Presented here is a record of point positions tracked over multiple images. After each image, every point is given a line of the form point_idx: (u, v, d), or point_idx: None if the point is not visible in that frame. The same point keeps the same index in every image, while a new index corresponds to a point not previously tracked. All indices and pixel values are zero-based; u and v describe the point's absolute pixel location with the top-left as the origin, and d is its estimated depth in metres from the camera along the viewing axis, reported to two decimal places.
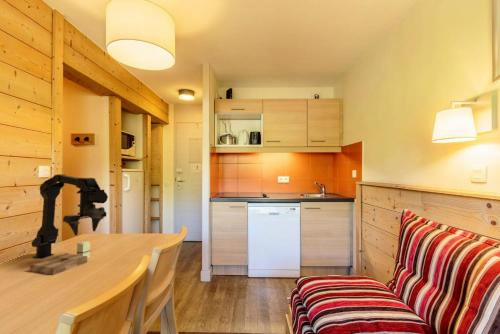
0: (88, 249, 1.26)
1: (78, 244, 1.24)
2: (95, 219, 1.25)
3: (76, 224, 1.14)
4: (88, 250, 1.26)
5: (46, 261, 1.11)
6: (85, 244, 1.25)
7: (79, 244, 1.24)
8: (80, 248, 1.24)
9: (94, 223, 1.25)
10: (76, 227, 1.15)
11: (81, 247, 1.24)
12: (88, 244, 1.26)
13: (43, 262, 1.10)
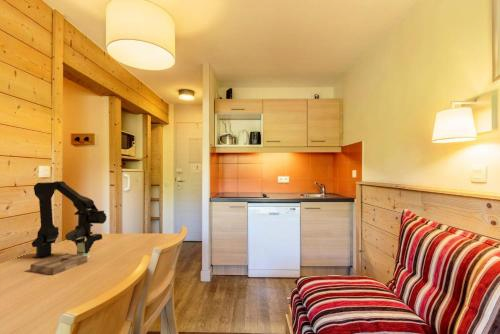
0: None
1: (78, 244, 1.24)
2: None
3: None
4: None
5: (46, 261, 1.11)
6: None
7: (79, 244, 1.24)
8: (80, 248, 1.24)
9: None
10: (76, 245, 1.26)
11: (81, 247, 1.24)
12: None
13: (43, 262, 1.10)
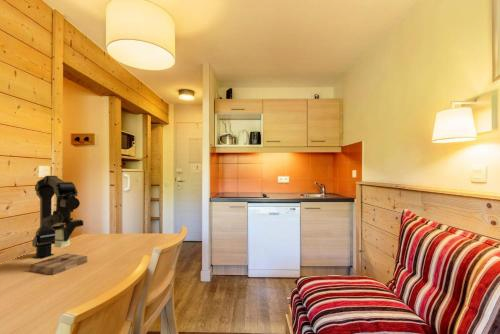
0: None
1: (56, 231, 1.13)
2: None
3: (52, 229, 1.13)
4: None
5: (46, 261, 1.11)
6: None
7: (57, 231, 1.13)
8: (59, 235, 1.12)
9: None
10: (54, 232, 1.14)
11: (60, 234, 1.12)
12: None
13: (43, 262, 1.10)
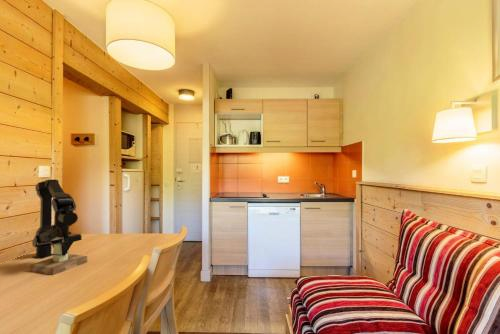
0: None
1: (54, 245, 1.12)
2: None
3: (51, 243, 1.13)
4: None
5: (46, 261, 1.11)
6: None
7: (55, 245, 1.12)
8: (57, 250, 1.12)
9: None
10: (53, 246, 1.13)
11: (58, 249, 1.12)
12: None
13: (43, 262, 1.10)
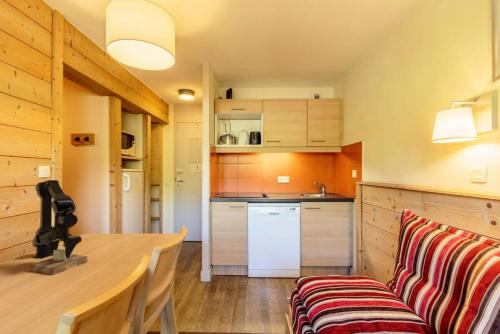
0: None
1: (54, 251, 1.12)
2: None
3: (47, 244, 1.13)
4: (66, 258, 1.14)
5: (46, 261, 1.11)
6: (62, 251, 1.13)
7: (55, 251, 1.12)
8: (57, 256, 1.12)
9: None
10: (49, 247, 1.14)
11: (58, 255, 1.11)
12: None
13: (43, 262, 1.10)
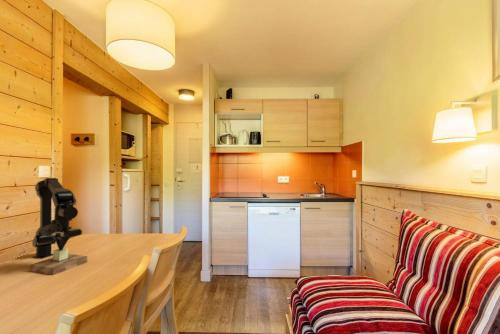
0: (66, 257, 1.14)
1: (54, 251, 1.12)
2: None
3: (54, 238, 1.12)
4: (66, 258, 1.14)
5: (46, 261, 1.11)
6: (62, 251, 1.13)
7: (55, 252, 1.12)
8: (57, 256, 1.12)
9: None
10: (56, 241, 1.13)
11: (58, 255, 1.11)
12: (66, 251, 1.14)
13: (43, 262, 1.10)
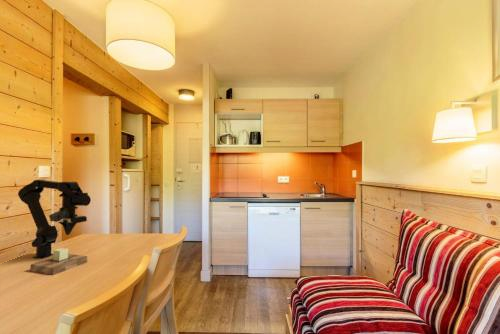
0: (66, 257, 1.14)
1: (54, 251, 1.12)
2: None
3: (62, 224, 1.25)
4: (66, 258, 1.14)
5: (46, 261, 1.11)
6: (62, 251, 1.12)
7: (55, 251, 1.12)
8: (56, 256, 1.12)
9: None
10: (64, 227, 1.25)
11: (58, 255, 1.11)
12: (66, 251, 1.14)
13: (43, 262, 1.10)
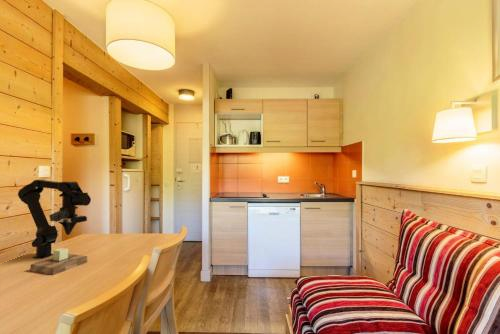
0: (66, 257, 1.14)
1: (54, 251, 1.12)
2: None
3: (62, 224, 1.25)
4: (66, 258, 1.14)
5: (46, 261, 1.11)
6: (62, 251, 1.12)
7: (55, 251, 1.12)
8: (56, 256, 1.12)
9: None
10: (64, 227, 1.25)
11: (58, 255, 1.11)
12: (66, 251, 1.14)
13: (43, 262, 1.10)
